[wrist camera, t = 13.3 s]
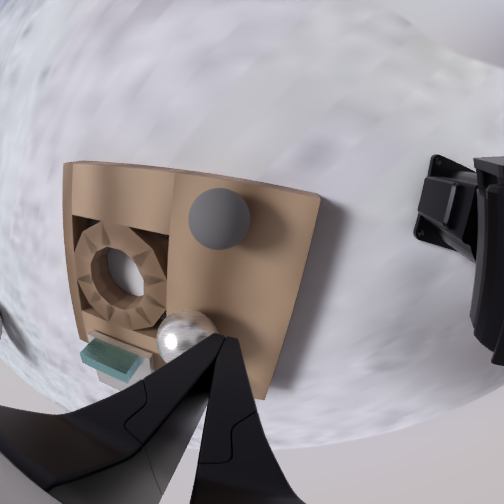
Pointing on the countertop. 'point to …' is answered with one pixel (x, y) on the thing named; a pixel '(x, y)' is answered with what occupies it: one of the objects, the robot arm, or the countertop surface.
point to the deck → (184, 257)
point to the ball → (182, 332)
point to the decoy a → (219, 218)
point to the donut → (0, 327)
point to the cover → (116, 361)
